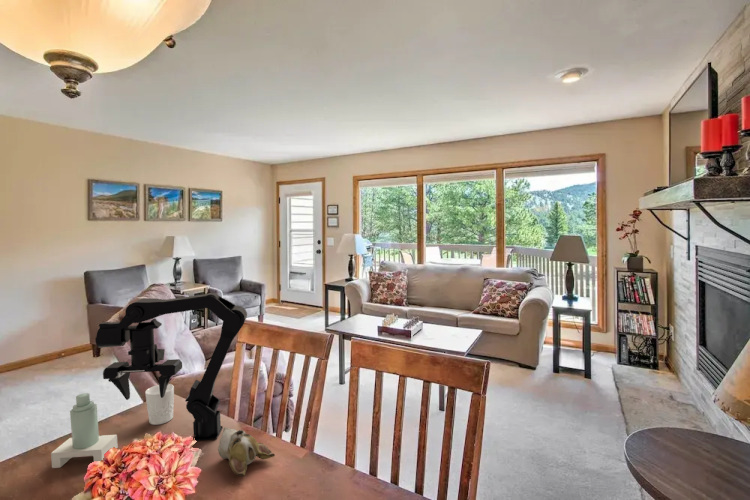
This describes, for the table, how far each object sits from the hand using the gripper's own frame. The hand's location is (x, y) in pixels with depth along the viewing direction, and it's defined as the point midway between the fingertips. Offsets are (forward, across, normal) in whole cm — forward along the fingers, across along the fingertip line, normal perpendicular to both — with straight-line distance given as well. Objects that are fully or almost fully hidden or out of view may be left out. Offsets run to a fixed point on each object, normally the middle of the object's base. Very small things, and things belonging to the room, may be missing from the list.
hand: (145, 398), depth 106 cm
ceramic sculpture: (+13, -29, +13) cm, 35 cm away
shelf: (+13, +13, +6) cm, 19 cm away
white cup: (+13, +2, -13) cm, 19 cm away
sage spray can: (+9, +13, +6) cm, 17 cm away
